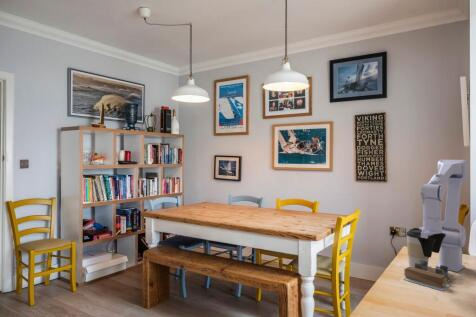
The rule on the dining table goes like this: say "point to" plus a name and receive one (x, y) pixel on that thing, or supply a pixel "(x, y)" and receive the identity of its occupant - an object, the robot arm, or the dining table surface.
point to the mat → (427, 284)
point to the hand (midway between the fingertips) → (431, 254)
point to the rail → (425, 277)
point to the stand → (441, 271)
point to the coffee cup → (414, 247)
